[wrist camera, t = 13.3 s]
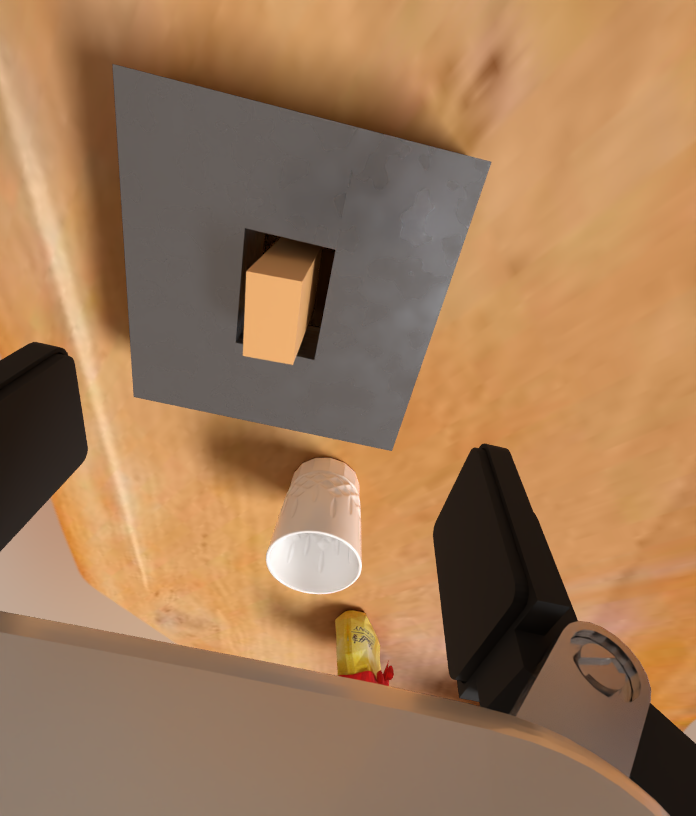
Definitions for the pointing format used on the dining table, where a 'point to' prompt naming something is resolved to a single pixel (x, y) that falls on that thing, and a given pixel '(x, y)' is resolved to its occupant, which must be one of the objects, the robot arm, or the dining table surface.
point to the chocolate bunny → (359, 649)
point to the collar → (291, 218)
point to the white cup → (318, 529)
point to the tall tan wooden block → (280, 300)
